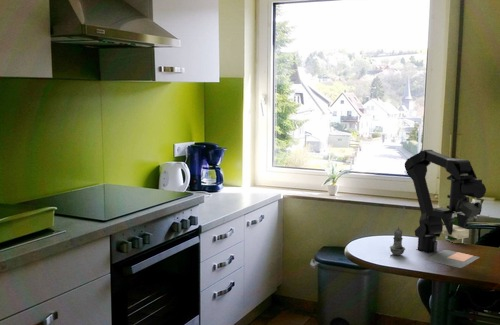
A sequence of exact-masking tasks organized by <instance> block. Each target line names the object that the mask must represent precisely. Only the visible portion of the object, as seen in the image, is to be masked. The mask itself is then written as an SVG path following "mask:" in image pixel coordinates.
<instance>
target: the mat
mask: <svg viewBox="0 0 500 325" xmlns="http://www.w3.org/2000/svg"><path fill="white" fill-rule="evenodd" d="M480 258H481V257H480V256H475V255H472V254H467V253H464V252H459V251H458V252H457V251H453V250H449V249H443V250H441V251H439V252H437V253H435V254H432V255H431V256H428V257H426V258H424V260H425V261H430V262H434V263H438V264H442V265H445V266H449V267H454V268H458V269H463V268H464V267H466V266H468V265H470V264H471V263H473V262H475V261H476V260H478V259H480Z"/></svg>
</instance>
